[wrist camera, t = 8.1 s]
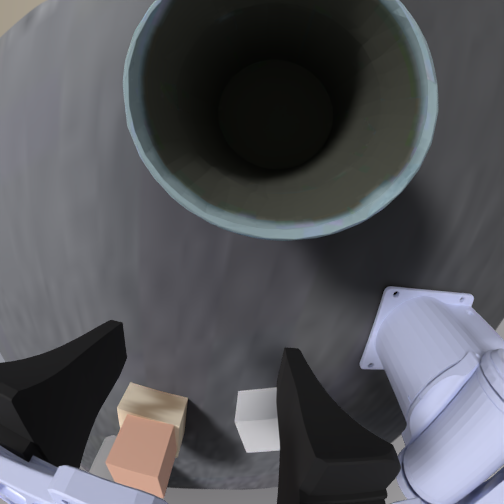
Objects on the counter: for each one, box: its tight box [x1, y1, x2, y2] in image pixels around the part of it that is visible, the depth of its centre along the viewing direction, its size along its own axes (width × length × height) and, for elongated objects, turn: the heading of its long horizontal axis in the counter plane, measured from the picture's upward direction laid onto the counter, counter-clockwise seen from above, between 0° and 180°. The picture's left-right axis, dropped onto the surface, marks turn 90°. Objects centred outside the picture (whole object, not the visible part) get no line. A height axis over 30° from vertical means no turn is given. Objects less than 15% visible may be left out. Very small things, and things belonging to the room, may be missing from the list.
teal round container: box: [123, 0, 438, 241], centre depth 13 cm, size 10×10×12 cm
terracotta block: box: [105, 414, 177, 498], centre depth 22 cm, size 4×4×6 cm
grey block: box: [235, 387, 280, 453], centre depth 25 cm, size 5×5×4 cm
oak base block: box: [117, 382, 188, 458], centre depth 27 cm, size 6×6×4 cm
